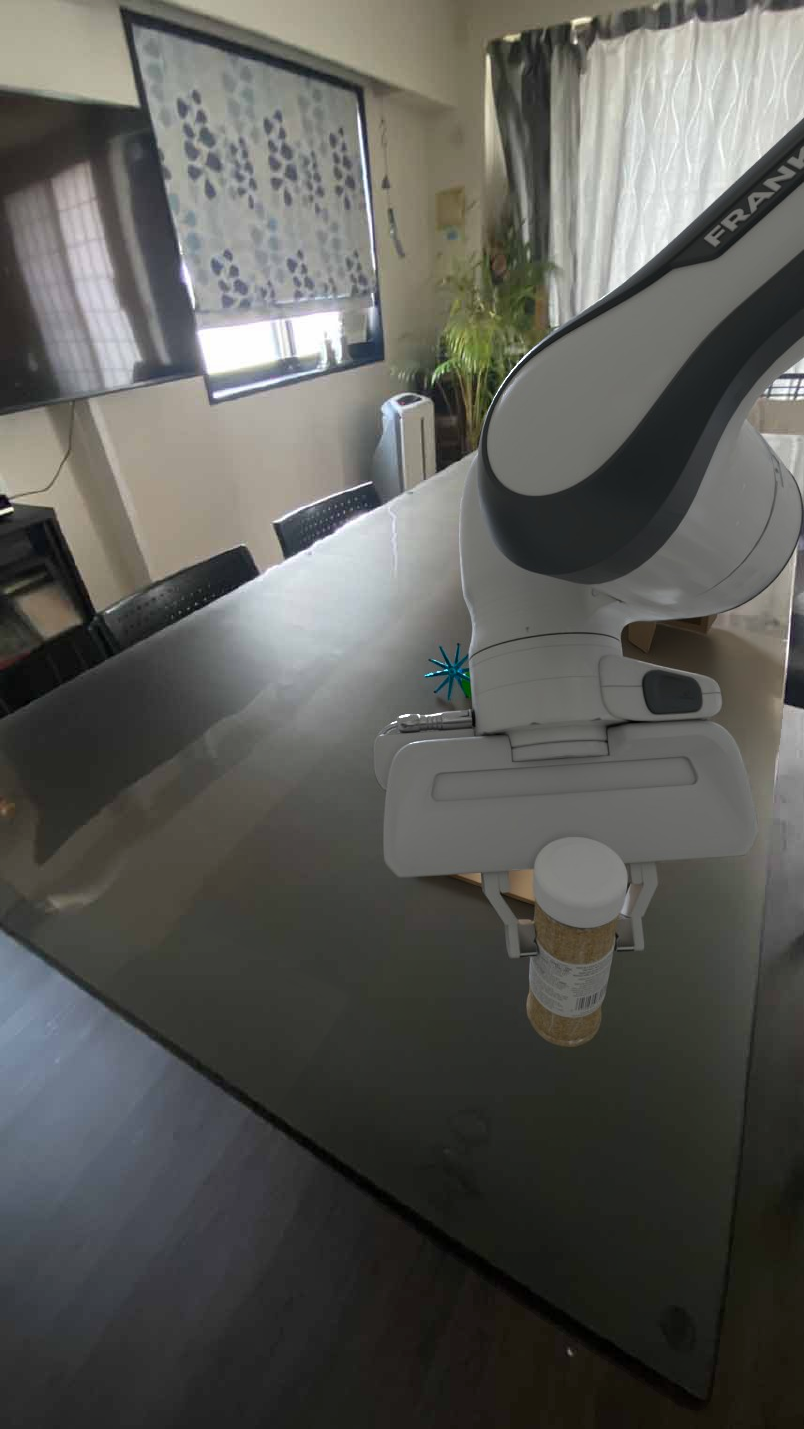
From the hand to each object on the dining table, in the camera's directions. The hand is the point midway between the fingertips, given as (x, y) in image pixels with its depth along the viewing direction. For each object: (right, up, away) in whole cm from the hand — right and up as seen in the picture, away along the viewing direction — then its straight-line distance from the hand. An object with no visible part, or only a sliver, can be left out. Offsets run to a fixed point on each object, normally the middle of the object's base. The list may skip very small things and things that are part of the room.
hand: (575, 952), depth 35 cm
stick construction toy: (0, +16, +56) cm, 58 cm away
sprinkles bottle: (0, -6, +5) cm, 7 cm away
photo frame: (+27, +27, +68) cm, 78 cm away
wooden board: (+4, 0, +32) cm, 32 cm away
